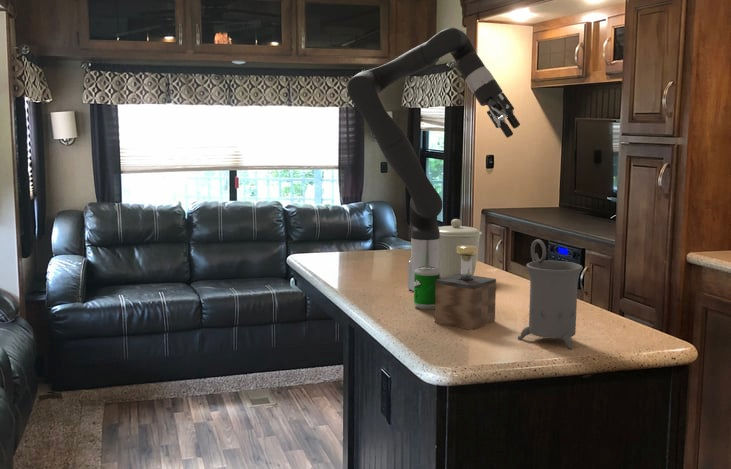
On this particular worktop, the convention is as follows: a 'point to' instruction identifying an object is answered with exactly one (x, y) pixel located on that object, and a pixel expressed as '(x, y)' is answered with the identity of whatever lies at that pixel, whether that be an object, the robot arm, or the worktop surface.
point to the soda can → (425, 286)
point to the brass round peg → (466, 260)
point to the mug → (552, 297)
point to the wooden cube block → (465, 301)
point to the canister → (449, 243)
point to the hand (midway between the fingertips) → (513, 131)
